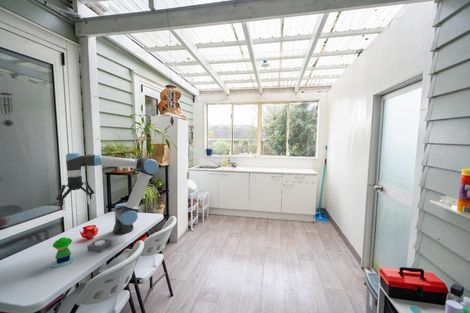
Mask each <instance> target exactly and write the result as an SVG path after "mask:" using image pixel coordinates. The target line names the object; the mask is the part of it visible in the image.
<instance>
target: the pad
mask: <svg viewBox="0 0 470 313" xmlns="http://www.w3.org/2000/svg"><path fill="white" fill-rule="evenodd" d="M75 259H76V258H75V256H71V255H70V260H69V261H67V262H62V263H59V264H57V259H56V260H54V261H52V262H51V264H50V267H51V268H54V269H56V268H62V267H65V266H68V265H70V264H71V263H73V262H74V261H75Z"/></svg>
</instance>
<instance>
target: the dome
mask: <svg viewBox="0 0 470 313" xmlns="http://www.w3.org/2000/svg"><path fill="white" fill-rule="evenodd" d="M104 243H105V240H100V241H97V242H95V245H102V244H104Z"/></svg>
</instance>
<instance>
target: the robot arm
mask: <svg viewBox="0 0 470 313" xmlns="http://www.w3.org/2000/svg"><path fill="white" fill-rule="evenodd" d="M65 163H66V165H65V166H66V175H67V184H62V185H61V187H60V190H59V192H58V194H57V195H56V198H55V200H56V201H59V204H60V206H62V210H63V211H66V200H65V198H66V197H67V196H68V195H69V194H70V193H71V192H72V191H77V190H78V191H79V190H81V191H84V193H85V194H87V195H86V199H87V205H91V200H92V195H93V194H95V191H94V190H93V189H92V187H91V186H90V184H89V182H88V181H84V182H83V176H82V175H83V173H82V171H83V170H82V167H98V166H107V167H116V168H118V167H119V168H132V169H133V170H139V171H138V174H139V175H138V177H137V179H136V182H135V184H134V187H133V188H132V191H131V193H130V195H129V198H128V200H127V202H124V203H118V204H116V205H115V206H114V226H113V229H112V233H113V234H114V235H125V234H128V233H129V234H130V233H131V232H132V231H134V229H135V228H134V224H135V223H136V221H137V220H138V212H139V210H140V208H139V204H140V203H141V200H142V198H143V196H144V193H145V191H146V189H147V187H148V184H149V181H150V179H151V178H153V177H154V175H155V173H157V172H158V171H159V168H160V167H159V166H160V165H159V163H158V161H157V160H156V159H153V158H147V157H143V158H139V157H134V158H129V157H126V158H125V157H119V156H118V157H117V156H109V155H101V154H91V153H87V154H85V155H81V153H80V152H70V153H66V154H65ZM83 185H84V186H86V188H87V189H88V190H89V191H88V190H87V189H85V188H84V187H83ZM66 188H67V189H66ZM65 189H66V190H65ZM64 191H65V192H64Z"/></svg>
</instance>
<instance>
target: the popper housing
mask: <svg viewBox="0 0 470 313" xmlns="http://www.w3.org/2000/svg"><path fill="white" fill-rule="evenodd" d="M100 240H105V243H104V244H102V245H95V242H97V241H100ZM112 245H113V239H109V238H98V239H96V240H94V241H93V242H91V243H89V244H87V245H86V246H87V249H86V250H87V252H89V253H103V252H104V251H105V250H107V249H108V248H109V247H111V246H112Z"/></svg>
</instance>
